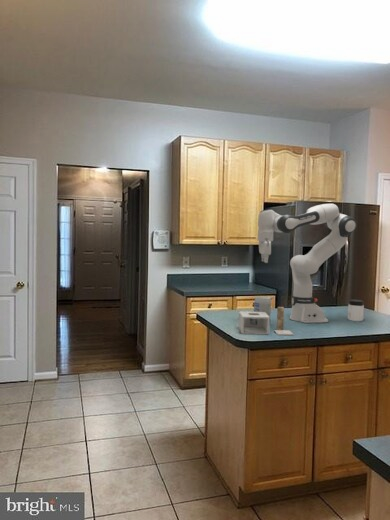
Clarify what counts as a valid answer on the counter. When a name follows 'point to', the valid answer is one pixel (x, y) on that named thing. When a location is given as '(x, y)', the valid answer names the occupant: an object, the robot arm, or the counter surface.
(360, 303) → the jar
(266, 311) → the supplement tub
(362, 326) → the counter surface
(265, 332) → the box
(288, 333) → the tile
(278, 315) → the rectangular block
